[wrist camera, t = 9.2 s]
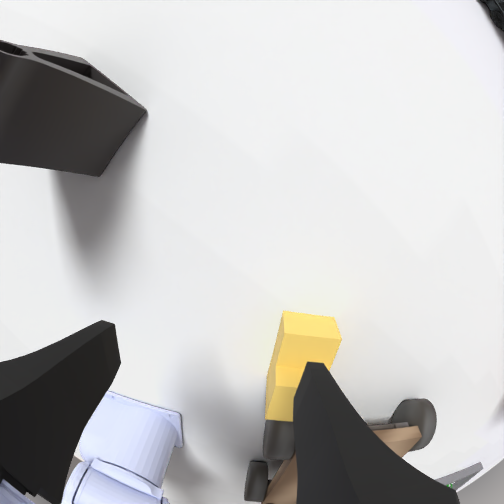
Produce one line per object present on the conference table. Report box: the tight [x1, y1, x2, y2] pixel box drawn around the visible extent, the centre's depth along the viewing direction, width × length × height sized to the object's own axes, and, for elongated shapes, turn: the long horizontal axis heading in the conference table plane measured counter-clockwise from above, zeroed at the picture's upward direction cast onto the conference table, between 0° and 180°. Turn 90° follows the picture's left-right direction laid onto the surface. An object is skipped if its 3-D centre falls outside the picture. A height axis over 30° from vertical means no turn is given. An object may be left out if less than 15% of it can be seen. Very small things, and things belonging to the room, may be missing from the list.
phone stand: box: [0, 40, 146, 177], centre depth 10 cm, size 9×6×12 cm, turn 46°
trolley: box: [244, 399, 437, 504], centre depth 19 cm, size 16×20×15 cm
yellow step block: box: [265, 311, 342, 422], centre depth 19 cm, size 4×7×5 cm, turn 171°
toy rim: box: [435, 462, 483, 490], centre depth 35 cm, size 22×22×2 cm
